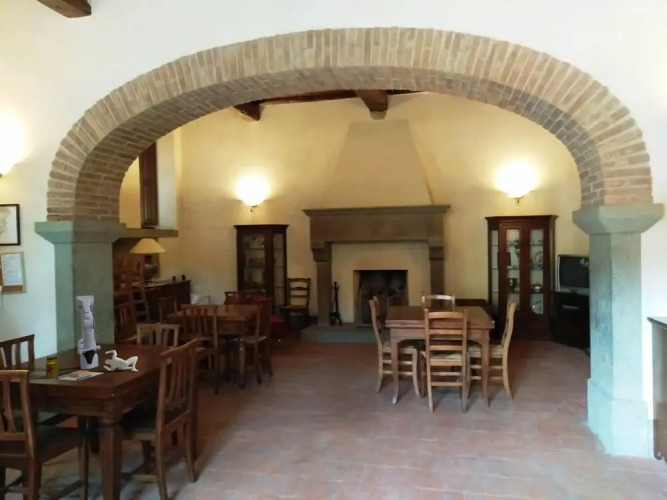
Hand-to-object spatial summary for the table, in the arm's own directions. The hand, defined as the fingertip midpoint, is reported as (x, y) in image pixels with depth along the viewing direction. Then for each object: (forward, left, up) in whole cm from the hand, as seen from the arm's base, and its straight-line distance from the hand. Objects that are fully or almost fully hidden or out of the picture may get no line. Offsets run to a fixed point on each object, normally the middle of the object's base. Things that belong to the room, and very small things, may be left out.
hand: (89, 364), depth 299 cm
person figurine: (-9, +14, -6) cm, 18 cm away
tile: (+4, 0, -4) cm, 5 cm away
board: (+8, +1, -6) cm, 10 cm away
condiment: (+13, -13, -6) cm, 19 cm away
